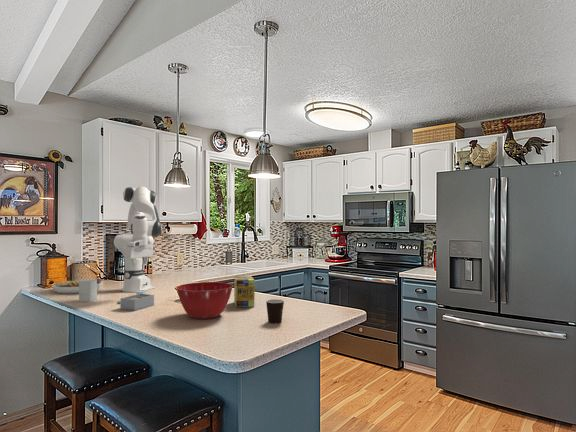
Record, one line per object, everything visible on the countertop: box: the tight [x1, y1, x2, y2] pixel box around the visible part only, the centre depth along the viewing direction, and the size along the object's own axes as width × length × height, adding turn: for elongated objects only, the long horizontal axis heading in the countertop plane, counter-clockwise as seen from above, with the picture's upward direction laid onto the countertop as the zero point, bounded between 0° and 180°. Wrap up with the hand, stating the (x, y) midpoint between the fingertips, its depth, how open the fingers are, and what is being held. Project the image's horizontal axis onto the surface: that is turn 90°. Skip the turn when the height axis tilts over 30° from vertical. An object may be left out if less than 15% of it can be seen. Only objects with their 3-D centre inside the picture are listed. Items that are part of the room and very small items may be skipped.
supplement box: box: [78, 278, 98, 303], centre depth 235 cm, size 7×7×13 cm
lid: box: [117, 291, 147, 302], centre depth 234 cm, size 16×11×4 cm
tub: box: [119, 293, 155, 312], centre depth 219 cm, size 15×10×6 cm, turn 158°
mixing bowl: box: [176, 281, 234, 320], centre depth 201 cm, size 28×28×16 cm
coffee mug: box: [266, 298, 285, 325], centre depth 191 cm, size 12×9×10 cm
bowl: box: [51, 278, 103, 295], centre depth 269 cm, size 30×30×8 cm
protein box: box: [233, 275, 256, 309], centre depth 227 cm, size 10×15×16 cm
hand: (139, 265), depth 239 cm, fingers open, 8 cm apart
